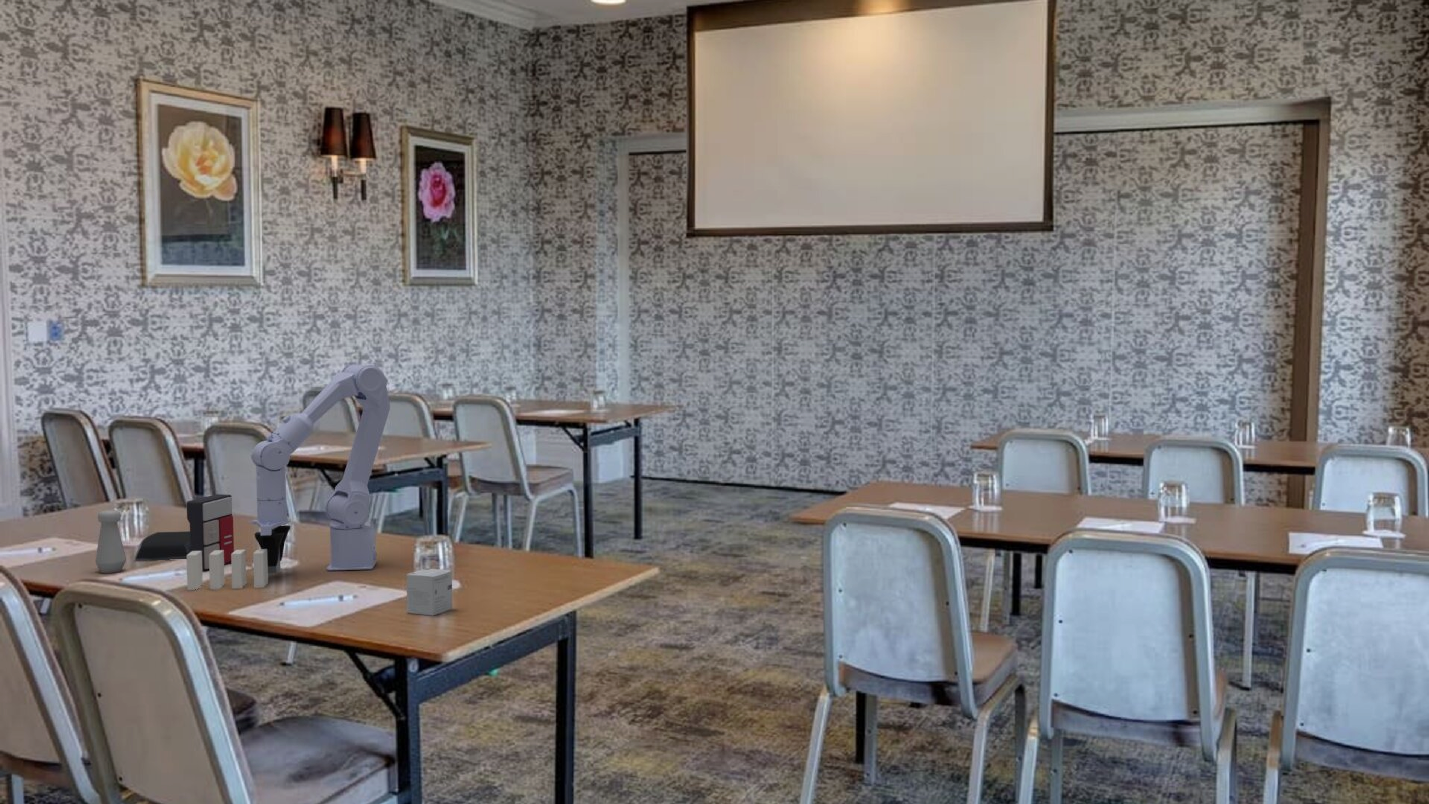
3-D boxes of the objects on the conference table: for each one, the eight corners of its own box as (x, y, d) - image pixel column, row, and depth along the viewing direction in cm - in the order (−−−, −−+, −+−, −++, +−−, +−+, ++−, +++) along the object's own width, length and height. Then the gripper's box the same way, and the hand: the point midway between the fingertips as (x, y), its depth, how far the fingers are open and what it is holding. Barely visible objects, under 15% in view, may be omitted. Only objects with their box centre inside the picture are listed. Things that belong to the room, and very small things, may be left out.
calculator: (206, 572, 256) (204, 502, 255) (188, 571, 257) (186, 501, 256) (236, 561, 267) (234, 494, 266) (219, 561, 268) (217, 493, 267)
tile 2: (268, 582, 247) (267, 548, 246) (263, 587, 242) (262, 553, 242) (258, 583, 246) (257, 549, 246) (254, 588, 242) (253, 553, 242)
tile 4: (224, 584, 245) (223, 550, 245) (219, 589, 241) (218, 554, 240) (215, 584, 245) (214, 550, 245) (209, 589, 241) (208, 554, 240)
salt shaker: (132, 570, 258) (130, 509, 257) (109, 575, 253) (107, 513, 252) (113, 567, 261) (111, 507, 260) (89, 572, 256) (87, 511, 255)
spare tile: (280, 569, 254) (279, 536, 254) (276, 573, 250) (275, 540, 249) (271, 569, 254) (270, 536, 253) (267, 573, 250) (266, 540, 249)
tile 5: (202, 584, 245) (201, 550, 244) (197, 589, 240) (196, 555, 240) (193, 585, 244) (192, 551, 244) (187, 590, 240) (186, 555, 240)
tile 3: (246, 583, 246) (245, 549, 246) (241, 588, 242) (240, 553, 241) (237, 583, 246) (236, 549, 245) (232, 588, 241) (231, 554, 241)
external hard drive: (129, 564, 267) (129, 545, 267) (151, 547, 286) (151, 530, 286) (193, 561, 270) (192, 543, 269) (210, 545, 289) (209, 528, 288)
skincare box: (433, 616, 220) (433, 576, 220) (406, 613, 222) (405, 573, 222) (453, 609, 226) (452, 570, 225) (426, 605, 228) (425, 567, 228)
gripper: (258, 494, 257) (260, 557, 258) (243, 505, 243) (246, 571, 244) (293, 493, 258) (295, 555, 259) (280, 504, 244) (282, 570, 245)
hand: (273, 563), depth 252 cm, fingers closed on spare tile, 4 cm apart
